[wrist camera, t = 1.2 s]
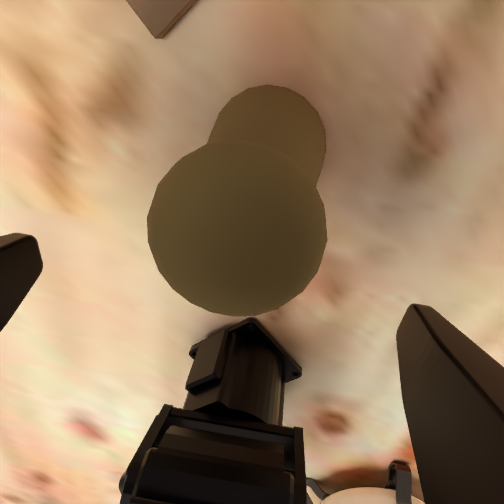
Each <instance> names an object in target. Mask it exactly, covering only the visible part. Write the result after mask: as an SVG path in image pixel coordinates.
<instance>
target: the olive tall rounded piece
mask: <svg viewBox="0 0 504 504" xmlns="http://www.w3.org/2000/svg"><path fill="white" fill-rule="evenodd" d="M325 152H326V138H325V129H324V127H323V125H322V122H321V120H320V117H319V115H318V112H317V111H316V110H315V109H314V108H313V107H312V106H311V105H310V103H309V102H308V101H307V100H306V99H305V98H304V97H302V96H301V95H299V94H297V93H295V92H293V91H292V90H290V89H288V88H284V87H278V86H272V85H264V86H259V87H254V88H248V89H247V90H245V91H243V92H242V93H240V94H238V95H237V96H235V97H233V98H232V99H231V100H230V101H229V102H228V103H227V105H226V106H225V107H224V108H223V109H222V110H221V112H220V113H219V115H218V118H217V120H216V123H215V125H214V128H213V130H212V132H211V135H210V137H209V140H208V142H207V144H206V145H204V146H203V147H201V148H199V149H197V150H195V151H194V152H192V153H190V154H188V155H186V156H185V157H183V158H181V159H180V160H179V161H178V162H177V163H176V164H175V165H174V166H173V167H172V168H171V170H170V171H169V172H168V173H167V174H166V175H165V177H164V178H163V179H162V180H161V181H160V183H159V184H158V186H157V189H156V192H155V195H154V198H153V201H152V204H151V207H150V210H149V213H148V216H147V227H148V243H149V246H150V249H151V252H152V254H153V257H154V260H155V262H156V265H157V267H158V270H159V272H160V273H161V274H162V276H163V277H164V278H165V280H166V281H167V282H168V283H169V285H170V286H171V287H172V289H173V290H175V291H176V292H177V293H179V294H180V295H181V296H183V297H184V298H185V299H186V300H188V301H189V302H190V303H192V304H194V305H197V306H199V307H201V308H203V309H206V310H208V311H210V312H213V313H218V314H224V315H229V316H256V315H259V314H263V313H266V312H269V311H272V310H275V309H278V308H279V307H281V306H282V305H284V304H285V303H287V302H288V301H290V300H291V299H293V298H294V297H295V296H297V295H298V294H300V293H301V292H303V291H304V289H305V288H306V286H307V285H308V284H309V282H310V281H311V280H312V278H313V277H314V276H315V274H316V273H317V271H318V268H319V266H320V263H321V260H322V256H323V253H324V250H325V246H326V243H327V230H326V218H325V209H324V204H323V202H322V200H321V198H320V196H319V193H318V191H317V189H316V184H317V181H318V178H319V175H320V171H321V168H322V164H323V160H324V156H325Z"/></svg>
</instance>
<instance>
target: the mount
mask: <svg viewBox="0 0 504 504" xmlns="http://www.w3.org/2000/svg"><path fill="white" fill-rule="evenodd" d="M126 1H127V2H128V4H129V5H130V6H131V8H132V9H133V10H134V11H135V13H136V14H137V15H138V17H139V18H140V19H141V21H142V22H143V23H144V25H145V26H146V27H147V29H148V30H149V31H150V33H151V34H152V35H153V36H154V38H162V37H163V36H164V35H165V34H166V33H167V32H168V31H169V30H170V29H171V28H172V27H173V25H174V24H175V23H176V22H177V21H178V20H179V19H180V18H181V17H182V16H183V15H184V14H185V12H186V11H187V10H188V9H189V8H190V7H191V6H192V5H193V4H194V3H195V2H196V1H197V0H126Z"/></svg>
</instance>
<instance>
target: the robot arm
mask: <svg viewBox="0 0 504 504" xmlns="http://www.w3.org/2000/svg"><path fill="white" fill-rule="evenodd" d="M42 269H43V262H42V258H41V254H40V250H39V246H38V242H37V240H36V238H35V237H34V236H32V235H27V234H22V233H12V234H8V235H4V236H0V332H1V330H2V329H3V328H4V327H5V325H6V324H7V323H8V321H9V320H10V318H11V317H12V316H13V314H14V313H15V311H16V310H17V308H18V307H19V305H20V304H21V302H22V301H23V299H24V298H25V296H26V295H27V293H28V292H29V290H30V289H31V287H32V286H33V284H34V283H35V281H36V280H37V279H38V277H39V276H40V274H41V272H42ZM249 325H253V326H249ZM396 341H397V351H398V361H399V371H400V381H401V391H402V399H403V404H404V410H405V414H406V419H407V423H408V428H409V433H410V437H411V442H412V446H413V451H414V456H415V460H416V465H417V469H418V474H419V478H420V483H421V488H422V492H423V497H424V501H425V504H504V367H503V366H502V365H500V364H499V363H498V362H497V361H496V360H494V359H493V358H492V357H491V356H490V355H488V354H487V353H486V352H485V351H484V350H482V349H481V348H480V347H479V346H478V345H476V344H475V343H474V342H473V341H472V340H470V339H469V338H468V337H467V336H466V335H464V334H463V333H462V332H461V331H460V330H458V329H457V328H456V327H455V326H454V325H452V324H451V323H450V322H449V321H447V320H446V319H445V318H444V317H443V316H441V315H440V314H439V313H438V312H437V311H435V310H434V309H433V308H432V307H430V306H426V305H420V304H411V305H410V306H409V307H408V309H407V311H406V313H405V315H404V317H403V319H402V321H401V323H400V325H399V327H398V330H397V334H396ZM189 355H190V356H191V357H192V358H193V359H194V362H193V365H192V368H191V371H190V373H189V376H188V379H187V382H186V387H185V389H186V390H187V391H188V395H187V398H186V401H185V404H184V407H183V409H181V408H176V407H173V405H167V404H164V406H163V407H162V409H161V411H160V413H159V415H157V416H156V417H155V419H154V421H153V423H152V425H151V426H150V428H149V430H148V432H147V434H146V435H145V437H144V439H143V441H142V443H141V444H140V446H139V448H138V450H137V452H136V453H135V455H134V457H133V459H132V461H131V462H130V464H129V466H128V468H127V470H126V471H125V473H124V474H123V475H122V477H121V479H120V482H119V490H120V492H121V495H122V496H121V500H120V504H307V491H306V473H305V457H304V441H303V428H300V427H295V426H294V427H293V428H291V427H285V426H282V420H283V405H284V389H285V383H286V382H289V381H292V380H294V379H297V378H299V377H301V375H302V369H301V367H300V366H299V365H298V364H297V363H296V362H295V361H294V360H293V359H292V358H291V357H290V355H289V354H288V353H287V352H286V351H285V350H284V349H283V348H282V347H281V346H280V345H279V344H278V343H277V342H276V341H275V339H274V338H273V337H272V336H271V335H270V334H269V333H268V332H267V331H266V330H265V329H264V328H263V327H262V326H261V325H260V324H259V322H258V321H256V320H255V319H247V320H245V321H243V322H241V323H239V324H237V325H235V326H233V327H231V328H229V329H226V330H223V331H221V332H219V333H217V334H215V335H213V336H211V337H209V338H207V339H205V340H202V341H201V342H200V343H199V344H197V345H195V346H193V347H191V349H190V352H189Z"/></svg>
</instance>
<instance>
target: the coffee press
mask: <svg viewBox="0 0 504 504" xmlns="http://www.w3.org/2000/svg"><path fill="white" fill-rule="evenodd" d="M411 482H412V474H411V469H410V467H409V466H408V465H404V464H399V463H395V462H392V463H391V464H390V469H389V477H388V483H387V485H386V487H385V488H376V487H361V488H352V489H346V490H342V491H339V492H336V493H334V494H332V495H329V494H327V493H325V492H324V491H323V490H322V489H321V488H320V487H319V485H318V484H317V483H316V482H315V481H314V480H313V479H311V478H307V479H306V485H307V486H309V487H311V489H312V490H313V491H314V492H315V494H316V495H317V496H318V497H319V498H320V499H321V500H323V501H322V502H321V503H320V504H425V503H424V502H423V501H421V500H420V499H418V498H416V497H414V496H411ZM307 504H313V502H312V500H311V499H310V497H309V495H308V493H307Z"/></svg>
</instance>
